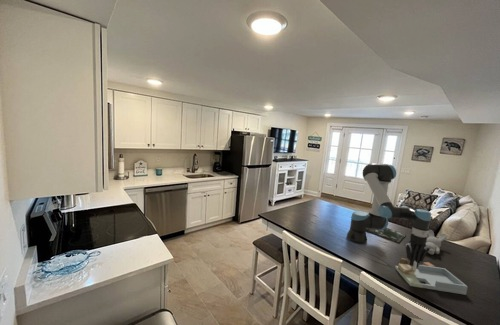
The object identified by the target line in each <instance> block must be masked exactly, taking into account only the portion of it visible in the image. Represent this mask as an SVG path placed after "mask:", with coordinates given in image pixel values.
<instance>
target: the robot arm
mask: <svg viewBox="0 0 500 325" xmlns="http://www.w3.org/2000/svg"><path fill="white" fill-rule="evenodd" d="M362 177H363V179H364V181H366V182H367V184H368V186H369V189H370V191H371V192H372V194H373V198H372V205H371V209H370V210H369V211H368V212H366V211H362V210H361V211H360V210H357V211H353V212H352V213H351V216H350V218H351V219H350V225H349V230H348V232H347V234H346V239H347V240H348V241H350V242H352V243H354V244H357V245H359V244H360V245H366V244H367V242H368V236H367V232H366V229H376V230H384V229H386V228H388V225H389V219H398V220H399V219H400V220H409V221H410V222H412V227H411V234H410V238H409V239H410V241H409V242H408V243H406V242H405V243H404V246H405V249H406V250H405V253H406V259H407V260H408V261H409V265H410V266H411V267H412V268H413V269H414V270H415V272H416V269H417V268H418V265H419V264H420V263H423V262H424V259H425V258H426V255H427V254H428V253H427V252H428V251H429V250H430V248H428V247H427V246H426V244H425V243H426V241H427V238H428V231H429V230H430V224H431V220H432V213H431V212H430V211H429V210H426V209H422V208H421V209H420V208H416V209H414V208H412V207H410V206H407V205H401V206H394V205H393V203H392V200H391V199H390V197H389V195H388V189H389V184H390V183H392V180H395V178H396V177H397V169H396V168H395V166H393V165H392V164H388V163H373V162H372V163H368V164H366V165H365V166H364V167H363V170H362Z"/></svg>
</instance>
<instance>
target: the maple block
mask: <svg viewBox="0 0 500 325" xmlns="http://www.w3.org/2000/svg"><path fill="white" fill-rule="evenodd" d="M397 266H398V268H399V270H400V271H401V272H402V273H403V274H408V275H414V274H415V270H414V269H413V268H412V267H411V265H410V264H408V265H407V264H400V263H398V265H397Z"/></svg>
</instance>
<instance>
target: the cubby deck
mask: <svg viewBox="0 0 500 325" xmlns="http://www.w3.org/2000/svg"><path fill="white" fill-rule="evenodd" d="M394 268H395V270H396V271H397V272H398V273H399V275H400V276H401V277H402V278H403V279H404V281H405V282H406V283H407V284H408V285H409V286H410V287H415V288H421V289H428V290H434V291H439V292H447V293H452V294H458V295H459V294H460V295H464V296H466V295H467V292H468V287H469V286H467V284H465V283H464V282H463V281H462V280H461V279H459V278H458V277H457V276H456V275H455V274H453V273H452V272H450V271H449V270H448V269H446V268H445V267H438V266H434V267H432V266H425V265H423V264H418V267H417V268H416V272H415V274H414V275H408V274H403V273H402V272H401V271H400V270H399V268H398V265H395V267H394Z"/></svg>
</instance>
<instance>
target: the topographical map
mask: <svg viewBox="0 0 500 325" xmlns="http://www.w3.org/2000/svg"><path fill="white" fill-rule="evenodd" d="M366 233H369V234H373V236H374V235H375V236H376V237H380V238H383V239H386V240H388V241H391V242H394V243H397V244H400V243H402V241H403V240H404V239H405V238H406V237H407V234H404V233H402V232H399V231H397V230H393V229H392V228H388V227H387V228H386V229H384V230H376V229H366Z"/></svg>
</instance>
